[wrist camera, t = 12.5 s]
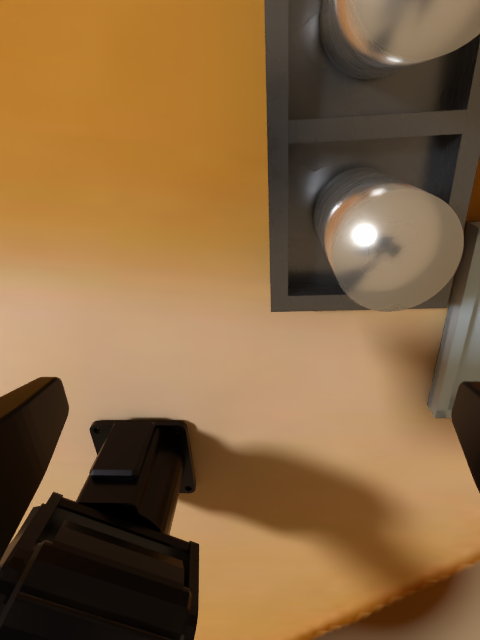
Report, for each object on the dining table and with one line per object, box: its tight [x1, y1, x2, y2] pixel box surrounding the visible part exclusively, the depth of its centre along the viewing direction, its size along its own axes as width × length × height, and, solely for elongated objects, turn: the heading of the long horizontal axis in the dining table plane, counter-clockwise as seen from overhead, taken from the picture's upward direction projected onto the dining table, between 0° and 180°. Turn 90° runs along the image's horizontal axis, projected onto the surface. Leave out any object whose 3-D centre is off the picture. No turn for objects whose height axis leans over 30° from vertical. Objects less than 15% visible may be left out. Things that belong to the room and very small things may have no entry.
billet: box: [313, 167, 464, 312], centre depth 15 cm, size 4×4×6 cm
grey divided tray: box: [265, 0, 480, 312], centre depth 16 cm, size 15×8×3 cm, turn 3°
